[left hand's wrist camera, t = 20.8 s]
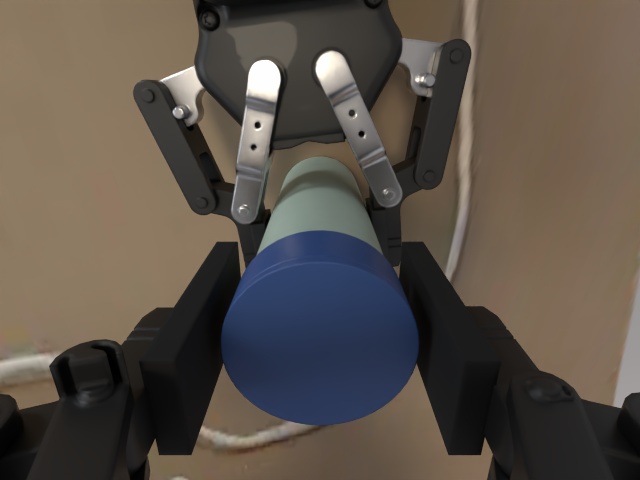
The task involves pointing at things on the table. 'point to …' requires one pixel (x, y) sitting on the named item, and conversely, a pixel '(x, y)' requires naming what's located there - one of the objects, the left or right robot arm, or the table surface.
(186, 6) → the table surface
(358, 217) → the green bottle
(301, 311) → the lid
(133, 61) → the table surface
